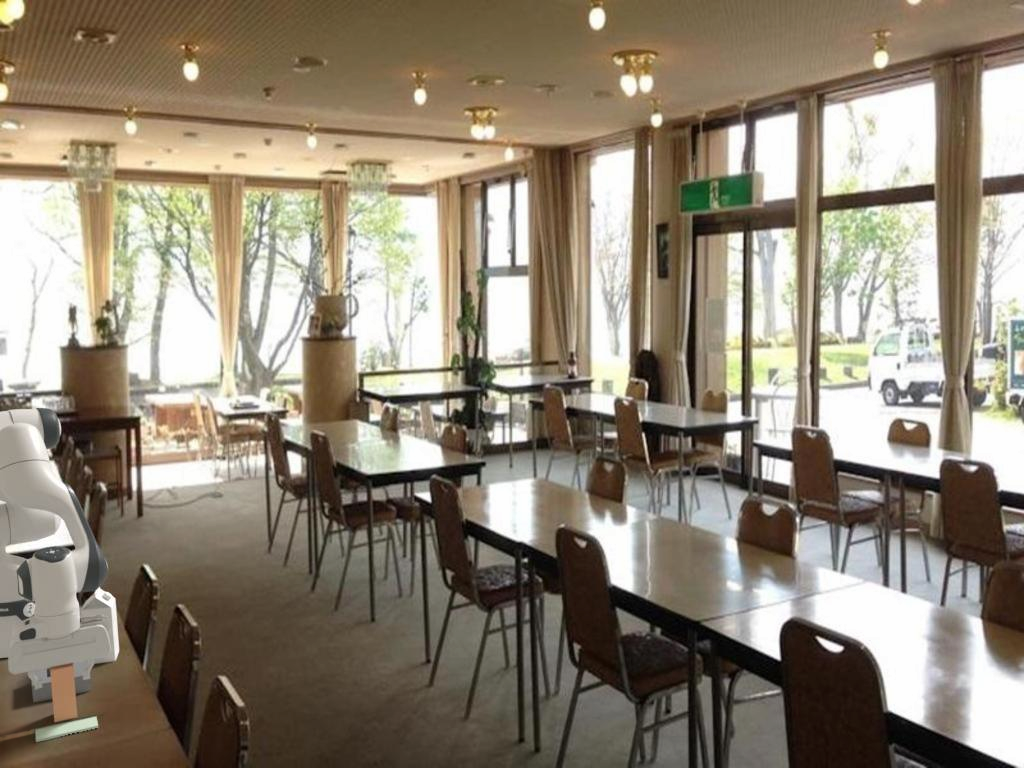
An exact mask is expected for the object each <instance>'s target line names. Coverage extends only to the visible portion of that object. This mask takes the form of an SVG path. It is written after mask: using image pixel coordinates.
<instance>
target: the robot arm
mask: <svg viewBox="0 0 1024 768" xmlns="http://www.w3.org/2000/svg"><path fill="white" fill-rule="evenodd" d="M61 435H62V426H61V421H60V419H59V417H58V416H57V413H56V412H55V411H53V410H52V409H51V408H47V407H36V408H19V409H18V408H16V409H8V410H4V411H3V410H2V411H0V502H3V503H0V659H4V658H5V659H6V658H8V659H7V662H8V672H9V673H11V674H12V675H18V674H24V673H27V676H28V678H29V679H30V680H31V682H32V681H33V682H34V684H35V690H37V689H41V688H42V678H40V679H37V678H36V676H35V670H40V669H45V668H50V667H55V666H60V665H65V664H70V663H76V662H81V661H86V660H87V663H88V666H87V668H86V669H85V670H82V674H83V675H82V676H83V680H86V679H90V680H91V671H92V669H93V668H94V666H95V664H94V659H96V658H101V657H106V656H108V655H109V654H110V652H111V646H110V640H109V636H108V633H109V631H110V629H111V624H110V620H109V618H107V617H105V616H102V615H97V616H94V617H86V618H81V610H80V604H79V601H78V598H77V593H80V594H81V593H87V592H88V593H89V592H95V591H96V590H97V589H98V588H99V587H100V588H101V586H102V585H103V584H105V583H104V582H105V581H106V580H107V578H108V577H109V567H108V562H107V559H106V557H105V556H104V553H103V551H102V549H101V547H100V546H99V543H98V542H97V540H96V538H95V535H94V533H93V530H92V529H91V526H90V524H89V521H88V520H87V517H86V514H85V512H84V510H83V507H82V504H81V503H80V501H79V498H78V497H77V495H76V493H75V491H74V489H73V488H72V486H71V485H70V484H68V483H66V482H63V481H61V480H60V478H59V477H57V476H56V474H55V472H54V471H53V469H52V465H51V461H50V456H49V453H48V450H50V449H52V448H54V447H56V445H58V443H59V442H60V438H61ZM62 520H63V523H65V526H66V529H67V531H68V533H69V534H68V535H69V536H70V539H71V540H72V543H73V545H74V547H75V549H72V550H70V549H69V548H68V547H65V546H58V545H55V546H54V545H53V546H46V547H42V548H41V549H38V550H37V551H35V552H34V553H33V555H32V557H30V558H25V557H21V556H18V555H14V554H11V553H8V552H7V551H6V550H7V549H6V548H7V547H8V546H12V545H18V544H24V543H31V542H37V541H40V540H43V539H46V538H48V537H50V536H53V535H55V534H56V533H57V531H58V530H59V529H60V526H61V522H62ZM103 618H105V619H103Z"/></svg>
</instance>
